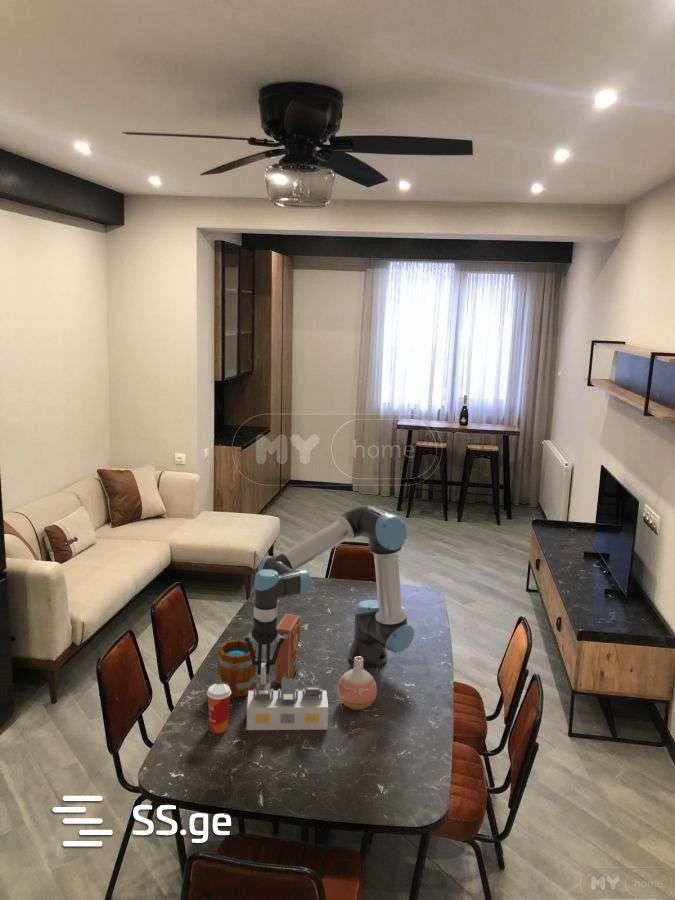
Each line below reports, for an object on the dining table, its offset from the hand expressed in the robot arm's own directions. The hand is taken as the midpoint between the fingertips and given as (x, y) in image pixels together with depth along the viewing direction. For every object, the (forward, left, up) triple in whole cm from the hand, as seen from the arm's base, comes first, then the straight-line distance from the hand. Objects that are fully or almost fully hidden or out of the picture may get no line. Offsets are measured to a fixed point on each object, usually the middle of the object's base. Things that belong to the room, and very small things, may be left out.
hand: (263, 682), depth 233 cm
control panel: (-8, -25, -12) cm, 29 cm away
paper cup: (+14, +8, -12) cm, 20 cm away
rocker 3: (-16, +4, -1) cm, 17 cm away
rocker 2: (-8, +4, -1) cm, 9 cm away
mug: (+10, -14, -12) cm, 21 cm away
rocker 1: (0, +4, -1) cm, 4 cm away
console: (-8, +4, -12) cm, 15 cm away
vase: (-32, -5, -12) cm, 35 cm away
